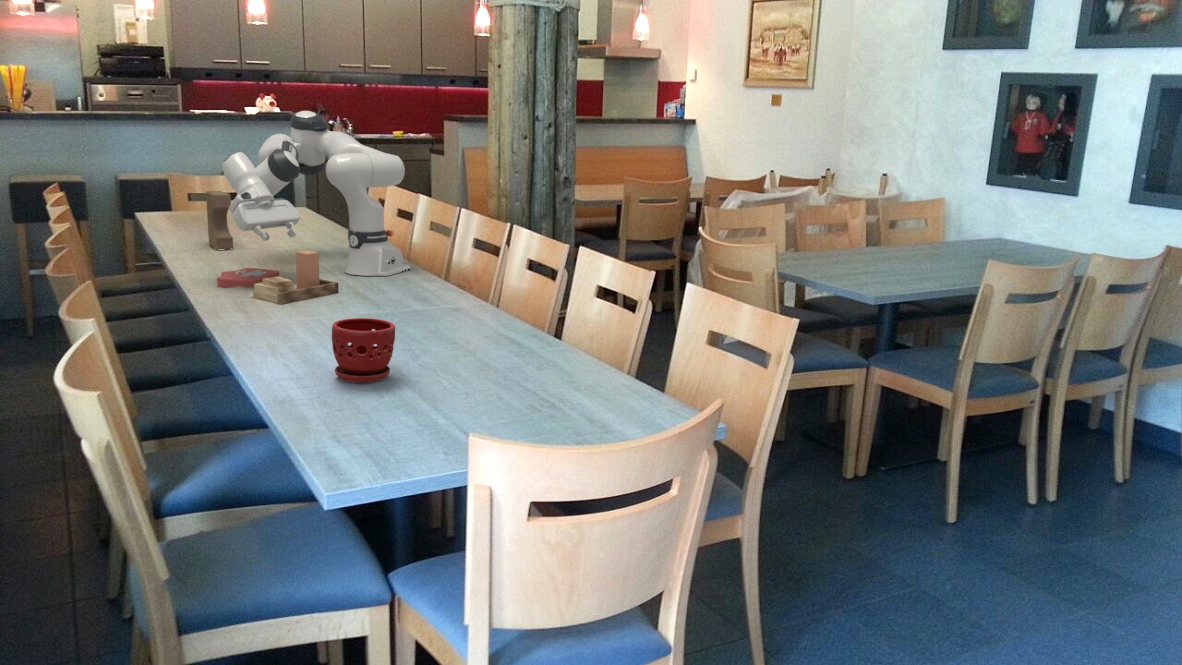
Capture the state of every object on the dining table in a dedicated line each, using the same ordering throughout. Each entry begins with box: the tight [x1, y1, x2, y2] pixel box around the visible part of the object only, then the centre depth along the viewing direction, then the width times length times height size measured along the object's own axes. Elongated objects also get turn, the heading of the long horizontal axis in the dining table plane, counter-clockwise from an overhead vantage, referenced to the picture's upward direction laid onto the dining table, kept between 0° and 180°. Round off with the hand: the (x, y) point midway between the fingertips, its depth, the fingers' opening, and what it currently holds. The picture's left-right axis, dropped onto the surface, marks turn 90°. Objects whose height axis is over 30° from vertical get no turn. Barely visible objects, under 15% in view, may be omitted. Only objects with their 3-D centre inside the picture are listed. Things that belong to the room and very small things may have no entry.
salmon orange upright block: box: [295, 249, 320, 289], centre depth 271 cm, size 4×5×12 cm
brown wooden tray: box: [249, 278, 340, 305], centre depth 269 cm, size 21×13×4 cm, turn 147°
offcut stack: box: [252, 276, 295, 304], centre depth 263 cm, size 7×11×6 cm, turn 57°
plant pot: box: [331, 317, 396, 384], centre depth 201 cm, size 13×13×12 cm
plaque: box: [216, 267, 281, 289], centre depth 286 cm, size 18×4×15 cm
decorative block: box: [205, 190, 234, 250], centre depth 338 cm, size 11×6×20 cm, turn 36°
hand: (280, 237), depth 274 cm, fingers open, 8 cm apart
